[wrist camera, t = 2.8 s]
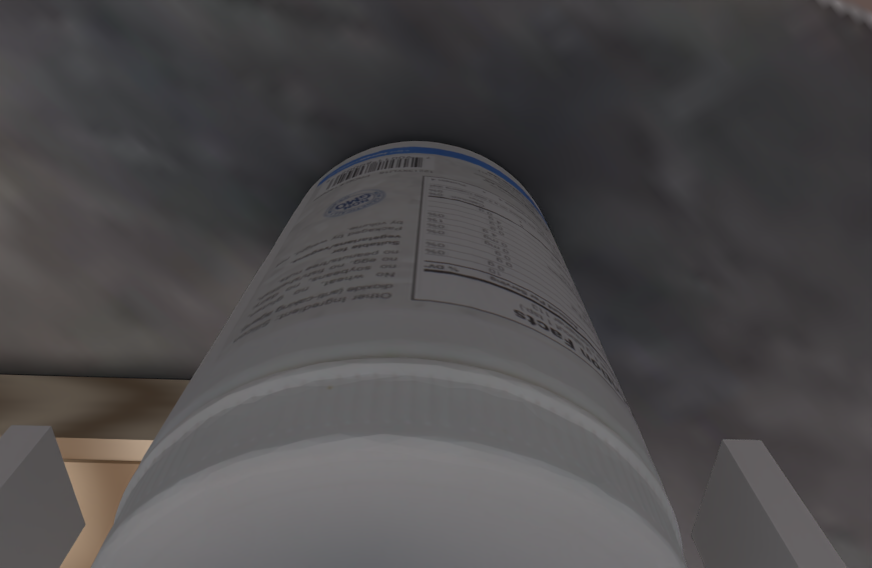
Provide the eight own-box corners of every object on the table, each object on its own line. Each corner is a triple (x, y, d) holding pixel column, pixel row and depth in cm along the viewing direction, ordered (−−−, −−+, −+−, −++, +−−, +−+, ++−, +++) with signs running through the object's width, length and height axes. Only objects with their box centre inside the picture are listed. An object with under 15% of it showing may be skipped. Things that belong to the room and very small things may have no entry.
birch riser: (306, 383, 25) (285, 447, 21) (326, 619, 31) (313, 694, 28) (-69, 372, 24) (-147, 434, 21) (34, 611, 31) (-13, 685, 28)
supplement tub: (454, 409, 25) (467, 888, 12) (243, 297, 23) (-25, 743, 10) (609, 225, 21) (873, 636, 8) (375, 69, 19) (227, 299, 6)
